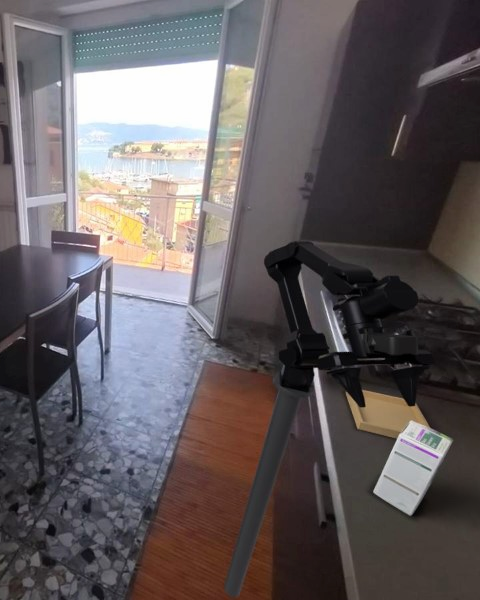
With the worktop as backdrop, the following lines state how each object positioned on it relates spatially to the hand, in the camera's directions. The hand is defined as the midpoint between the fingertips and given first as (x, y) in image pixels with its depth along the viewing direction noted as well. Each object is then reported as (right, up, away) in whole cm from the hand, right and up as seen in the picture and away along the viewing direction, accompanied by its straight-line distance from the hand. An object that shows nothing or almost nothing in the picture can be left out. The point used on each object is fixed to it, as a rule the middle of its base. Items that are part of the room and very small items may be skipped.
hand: (387, 406), depth 66 cm
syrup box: (0, -16, -2) cm, 16 cm away
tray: (+13, -7, +16) cm, 22 cm away
